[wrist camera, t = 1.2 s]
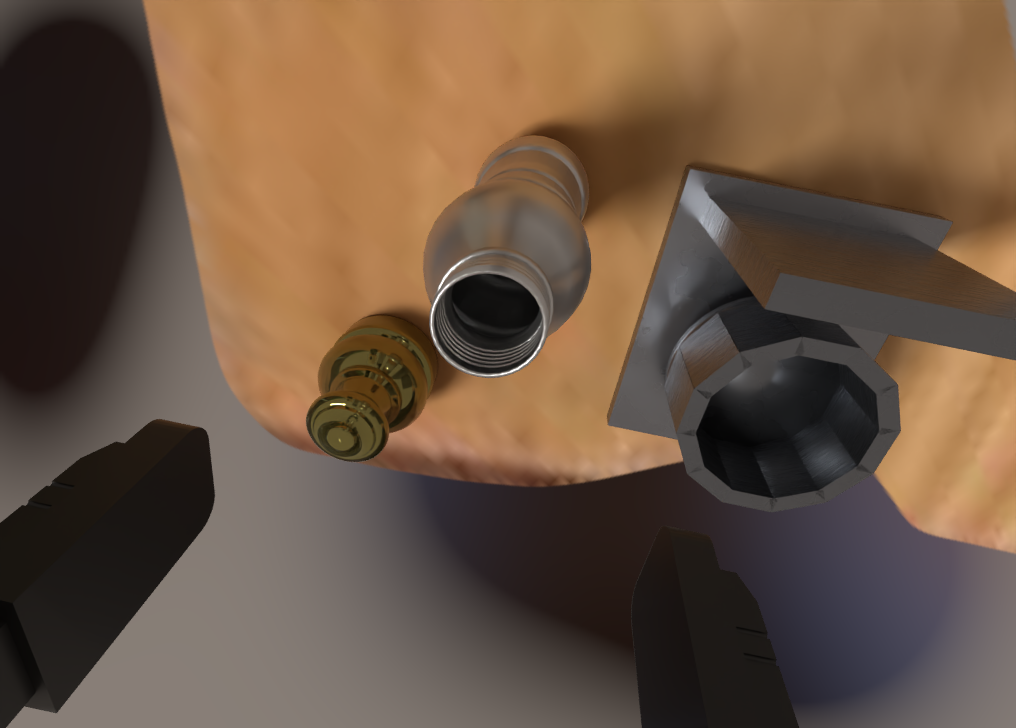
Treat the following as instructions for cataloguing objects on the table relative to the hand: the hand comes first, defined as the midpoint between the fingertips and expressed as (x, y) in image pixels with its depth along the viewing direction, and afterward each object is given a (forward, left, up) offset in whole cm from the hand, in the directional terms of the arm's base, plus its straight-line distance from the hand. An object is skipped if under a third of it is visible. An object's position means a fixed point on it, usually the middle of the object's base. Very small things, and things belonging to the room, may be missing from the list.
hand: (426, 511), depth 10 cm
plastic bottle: (0, 0, -28) cm, 28 cm away
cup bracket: (+6, +16, -28) cm, 33 cm away
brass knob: (+14, -8, -28) cm, 32 cm away
